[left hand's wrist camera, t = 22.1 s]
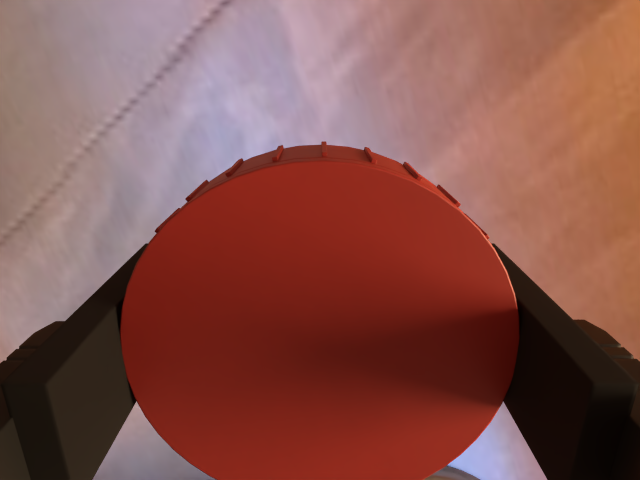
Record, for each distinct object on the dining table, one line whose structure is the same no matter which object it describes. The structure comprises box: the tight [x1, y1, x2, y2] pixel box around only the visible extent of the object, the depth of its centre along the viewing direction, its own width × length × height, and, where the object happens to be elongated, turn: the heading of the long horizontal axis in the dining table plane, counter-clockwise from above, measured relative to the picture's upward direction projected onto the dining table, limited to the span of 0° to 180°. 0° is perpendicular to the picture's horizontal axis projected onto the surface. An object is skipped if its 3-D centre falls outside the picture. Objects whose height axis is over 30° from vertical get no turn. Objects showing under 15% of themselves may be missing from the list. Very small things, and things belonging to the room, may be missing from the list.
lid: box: [120, 142, 520, 480], centre depth 11 cm, size 9×9×2 cm
